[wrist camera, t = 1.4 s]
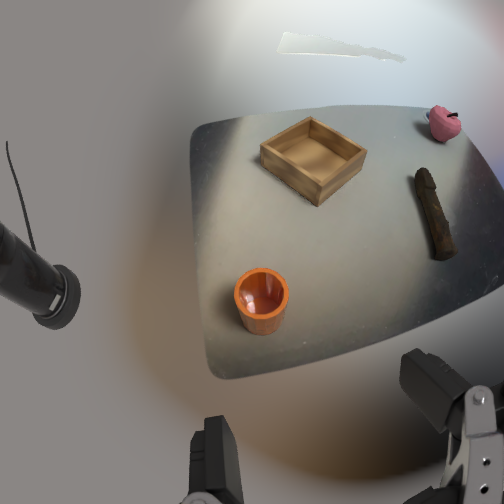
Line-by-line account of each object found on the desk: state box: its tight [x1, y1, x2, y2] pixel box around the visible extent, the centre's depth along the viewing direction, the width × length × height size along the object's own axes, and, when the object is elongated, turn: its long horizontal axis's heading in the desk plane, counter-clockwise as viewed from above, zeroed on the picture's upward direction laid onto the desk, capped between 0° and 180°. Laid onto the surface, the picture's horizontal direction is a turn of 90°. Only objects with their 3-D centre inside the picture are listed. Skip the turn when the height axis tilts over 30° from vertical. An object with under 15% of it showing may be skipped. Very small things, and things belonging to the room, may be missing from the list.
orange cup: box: [234, 268, 289, 335], centre depth 32 cm, size 6×6×9 cm
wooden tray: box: [260, 116, 367, 207], centre depth 46 cm, size 14×14×5 cm
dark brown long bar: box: [415, 167, 458, 260], centre depth 40 cm, size 19×4×5 cm, turn 175°
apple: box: [429, 105, 461, 142], centre depth 49 cm, size 10×9×10 cm
